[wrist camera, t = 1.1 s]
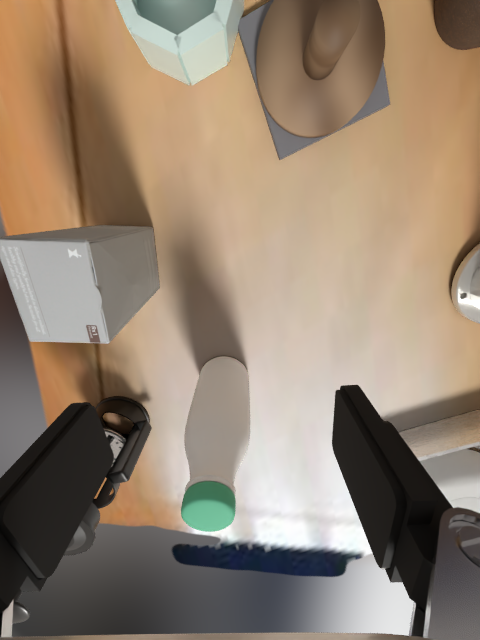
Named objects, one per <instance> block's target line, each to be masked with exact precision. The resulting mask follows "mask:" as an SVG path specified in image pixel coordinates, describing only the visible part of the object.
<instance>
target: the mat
mask: <svg viewBox="0 0 480 640" xmlns="http://www.w3.org/2000/svg"><path fill="white" fill-rule="evenodd" d="M273 1H274V0H271V1H269V2H267V3H266V4H264V5H262V6H261V7H259V8H258V9H256V10H254V11H253V12H251V13H249V14H248V15H246V16H245V17H243V18H241V19H240V21H239V25H238V32H239V35H240V38H241V41H242V44H243V48H244V51H245V54H246V57H247V60H248V63H249V66H250V69H251V73H252V76H253V79H254V82H255V85H256V88H257V91H258V95H259V98H260V101H261V104H262V107H263V110H264V113H265V116H266V120H267V123H268V126H269V129H270V132H271V135H272V138H273V142H274V145H275V148H276V151H277V154H278V157H279V160H281V159H283V158H285V157H287V156H289V155H291V154H293V153H295V152H297V151H299V150H301V149H303V148H305V147H307V146H309V145H311V144H313V143H315V142H317V141H319V140H321V139H323V138H325V137H327V136H329V135H331V134H333V133H335V132H337V131H339V130H341V129H343V128H345V127H347V126H349V125H351V124H353V123H355V122H357V121H359V120H361V119H363V118H365V117H367V116H369V115H371V114H373V113H375V112H377V111H379V110H381V109H383V108H385V107H387V106H388V105H389V104H390V100H389V94H388V87H387V81H386V75H385V69H384V63H382V67H381V71H380V74H379V77H378V80H377V82H376V85H375V87H374V89H373V91H372V93H371V95H370V97H369V98H368V100H367V101H366V103H365V104H364V106H363V107H362V108H361V109H360V111H359V112H358V113H357V114H356V115H355V116H354V117H353V118H352V119H351V120H350V121H349V122H348V123H347V124H345V125H344V126H343V127H341V128H340V129H338V130H337V131H335V132H333V133H331V134H328V135H326V136H322V137H318V138H302V137H298V136H295V135H292V134H290V133H288V132H286V131H285V130H283V129H282V128H281V127H280V126H278V125H277V124H276V123H275V122H274V120H273V119H272V118H271V117H270V115H269V114H268V112H267V110H266V108H265V107H264V105H263V102H262V99H261V97H260V93H259V89H258V85H257V78H256V55H257V46H258V39H259V35H260V31H261V27H262V24H263V22H264V19H265V16H266V14H267V12H268V10H269V8H270V6H271V4H272V3H273Z"/></svg>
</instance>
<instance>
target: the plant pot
mask: <svg viewBox="0 0 480 640" xmlns="http://www.w3.org/2000/svg"><path fill="white" fill-rule="evenodd" d="M434 12H435V23H436V27H437V31H438V33H439V35H440V37H441V38H442V40H443V41H444V42H445V43H446V44H448V45H449V46H450V47H452V48H455V49H460V50H467V49H472V48H477V47H480V0H435V9H434Z"/></svg>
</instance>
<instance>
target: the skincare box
mask: <svg viewBox="0 0 480 640" xmlns="http://www.w3.org/2000/svg"><path fill="white" fill-rule="evenodd" d="M0 259H1V262H2V265H3V267H4V271H5V273H6V276H7V279H8V282H9V285H10V288H11V291H12V293H13V296H14V299H15V302H16V304H17V307H18V310H19V313H20V315H21V318H22V321H23V324H24V327H25V330H26V332H27V335H28V338H29V341H35V342H71V343H110V341H111V340H112V339H113V338H114V337H115V336H116V335H117V334H118V333H119V332H120V331H121V329H122V328H123V327H124V326H125V325H126V324H127V323H128V322H129V321H130V319H131V318H132V317H133V316H134V315H135V314H136V313H137V312H138V311H139V310H140V309H141V308H142V307H143V305H144V304H145V303H146V302H147V301H148V300H149V299H150V298H151V297H152V296H153V295H154V294H155V293H156V291H157V290H158V289H160V284H159V275H158V266H157V257H156V248H155V240H154V231H153V227H143V226H116V225H97V226H88V227H80V228H71V229H63V230H55V231H46V232H38V233H29V234H21V235H13V236H5V237H0Z"/></svg>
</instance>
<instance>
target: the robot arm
mask: <svg viewBox="0 0 480 640" xmlns="http://www.w3.org/2000/svg"><path fill="white" fill-rule="evenodd" d="M451 293H452V301H453V304H454V306H455V308H456V309H457V311H458V312H459V313H460V314H461V315H462V316H463V317H465V318H467V319H469V320H471V321H474V322H477V323H480V243H479V244H478V245H477V246H475V247H474V248H473V249H472V250H471V251H470V252H469V253H468V254H467V256H466V257H465V258H464V260H463V261H462V262H461V264H460V266H459V268H458V269H457V271H456V273H455V276H454V279H453V283H452V289H451ZM332 446H333V451H334V454H335V457H336V459H337V462H338V464H339V467H340V470H341V472H342V475H343V477H344V480H345V483H346V485H347V488H348V490H349V493H350V495H351V498H352V501H353V503H354V506H355V508H356V511H357V514H358V516H359V519H360V521H361V524H362V527H363V529H364V532H365V534H366V537H367V539H368V542H369V545H370V547H371V550H372V552H373V555H374V557H375V560H376V562H377V564H378V565H379V567H380V568H385V570H386V572H387V575H388V577H389V579H390V581H391V582H403V584H404V586H405V588H406V591H407V593H408V595H409V598H410V599H411V600H413V601H414V605H413V612H412V618H411V625H410V631H409V636H404V635H393V634H378V633H377V634H375V633H221V634H220V633H211V634H145V635H90V636H89V635H86V636H85V635H84V636H45V637H44V636H41V637H12V618H13V599H14V597H15V596H16V594H17V592H18V591H19V589H21V591H22V592H32V591H40V590H41V588H42V587H43V585H44V583H45V581H46V579H47V578H48V577H49V576H51V575H52V574H53V572H54V571H55V569H56V568H57V566H58V564H59V562H60V560H61V558H62V557H63V555H64V553H65V551H66V549H67V547H68V546H69V544H70V542H71V540H72V538H73V536H74V534H75V533H76V531H77V529H78V527H79V525H80V523H81V521H82V520H83V518H84V516H85V514H86V512H87V510H88V508H89V507H90V505H91V503H92V501H93V499H94V497H95V496H96V494H97V492H98V490H99V488H100V486H101V484H102V483H103V481H104V479H105V477H106V475H107V473H108V471H109V470H110V468H111V466H112V464H113V461H114V454H113V451H112V449H111V446H110V444H109V441H108V439H107V436H106V434H105V431H104V429H103V426H102V424H101V421H100V419H99V416H98V414H97V411H96V409H95V407H94V406H92V405H91V404H90V403H88V402H84V403H73V404H71V405H69V406H68V407H67V408H66V409H65V410H64V411H63V412H62V414H61V415H60V416H59V417H58V418H57V419H56V420H55V421H54V422H53V423H52V424H51V425H50V426H49V427H48V428H47V429H46V431H45V432H44V433H43V434H42V435H41V436H40V437H39V438H38V439H37V440H36V441H35V442H34V443H33V444H32V445H31V446H30V447H29V449H28V450H27V451H26V452H25V453H24V454H23V455H22V456H21V457H20V458H19V459H18V460H17V461H16V462H15V463H14V464H13V465H12V466H11V468H10V469H9V470H8V471H7V472H6V473H5V474H4V475H3V476H2V477H1V478H0V640H480V513H477V512H475V511H472V510H470V509H465V508H459V507H456V508H453V507H452V505H451V504H450V503H449V501H448V500H447V499H446V497H445V496H444V494H443V493H442V492H441V490H440V489H439V488H438V486H437V485H436V483H435V482H434V481H433V479H432V478H431V477H430V475H429V474H428V472H427V471H426V470H425V468H424V467H423V466H422V464H421V463H420V461H419V460H418V459H417V457H416V456H415V455H414V453H413V452H412V450H411V449H410V448H409V446H408V445H407V444H406V442H405V441H404V439H403V438H402V437H401V435H400V434H399V433H398V431H397V430H396V428H395V427H394V426H393V425H392V424H391V423H390V422H388V421H383V420H382V418H381V417H380V415H379V414H378V413H377V411H376V410H375V408H374V407H373V405H372V404H371V403H370V401H369V400H368V398H367V397H366V395H365V394H364V392H363V391H362V390H361V388H360V387H359V386H358V385H346V386H341V388H340V390H336V394H335V408H334V422H333V437H332Z"/></svg>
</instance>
